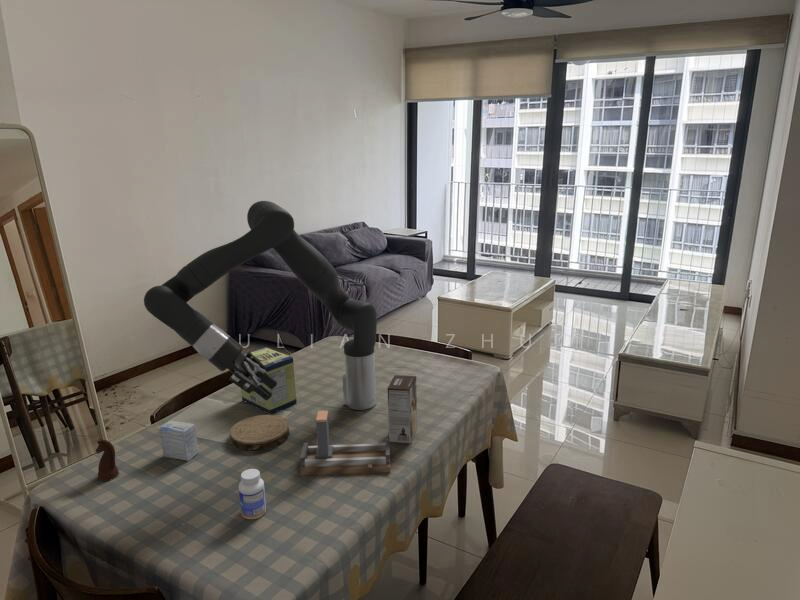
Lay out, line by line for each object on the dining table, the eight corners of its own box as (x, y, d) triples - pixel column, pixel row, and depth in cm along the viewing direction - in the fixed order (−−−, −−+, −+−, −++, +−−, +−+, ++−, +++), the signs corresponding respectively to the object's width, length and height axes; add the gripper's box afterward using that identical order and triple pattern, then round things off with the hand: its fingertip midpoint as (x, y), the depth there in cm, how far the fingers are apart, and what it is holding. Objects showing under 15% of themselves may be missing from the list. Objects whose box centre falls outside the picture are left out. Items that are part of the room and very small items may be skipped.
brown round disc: (234, 457, 145) (232, 447, 144) (228, 430, 159) (227, 421, 159) (294, 445, 151) (294, 435, 150) (284, 419, 165) (283, 410, 164)
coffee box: (395, 426, 159) (394, 374, 155) (417, 427, 158) (416, 375, 154) (388, 442, 151) (386, 387, 146) (411, 444, 149) (410, 389, 145)
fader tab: (315, 462, 138) (312, 419, 135) (317, 452, 143) (315, 411, 140) (331, 462, 138) (329, 419, 135) (333, 452, 143) (331, 410, 140)
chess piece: (106, 470, 140) (100, 434, 137) (124, 471, 139) (118, 435, 137) (93, 480, 136) (87, 444, 133) (112, 482, 135) (106, 445, 132)
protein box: (268, 390, 185) (264, 346, 181) (297, 403, 175) (294, 357, 171) (240, 400, 177) (236, 355, 173) (270, 415, 167) (265, 367, 163)
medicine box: (199, 453, 147) (195, 423, 145) (187, 462, 143) (183, 431, 141) (174, 448, 150) (170, 419, 147) (163, 457, 146) (158, 427, 143)
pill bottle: (243, 505, 125) (239, 467, 122) (268, 503, 125) (264, 465, 123) (239, 521, 120) (234, 481, 117) (264, 519, 120) (260, 479, 118)
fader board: (300, 475, 136) (299, 461, 135) (305, 453, 146) (304, 440, 145) (390, 472, 137) (390, 457, 136) (389, 450, 146) (389, 437, 145)
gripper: (219, 346, 124) (277, 394, 128) (235, 326, 138) (287, 369, 142) (198, 369, 126) (256, 415, 129) (216, 347, 139) (268, 389, 143)
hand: (272, 391), depth 135 cm, fingers open, 5 cm apart
